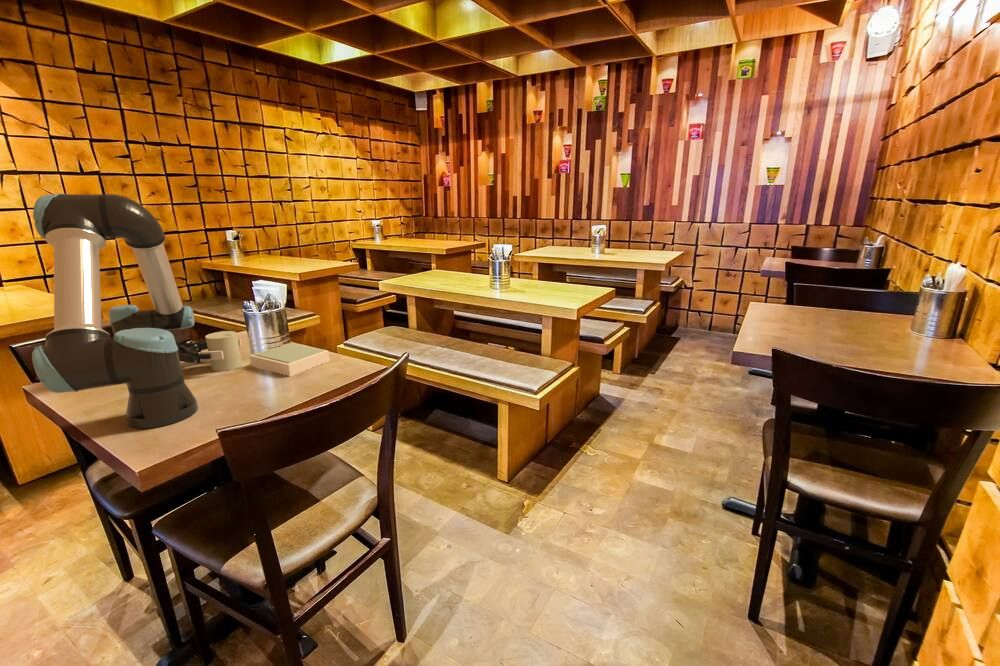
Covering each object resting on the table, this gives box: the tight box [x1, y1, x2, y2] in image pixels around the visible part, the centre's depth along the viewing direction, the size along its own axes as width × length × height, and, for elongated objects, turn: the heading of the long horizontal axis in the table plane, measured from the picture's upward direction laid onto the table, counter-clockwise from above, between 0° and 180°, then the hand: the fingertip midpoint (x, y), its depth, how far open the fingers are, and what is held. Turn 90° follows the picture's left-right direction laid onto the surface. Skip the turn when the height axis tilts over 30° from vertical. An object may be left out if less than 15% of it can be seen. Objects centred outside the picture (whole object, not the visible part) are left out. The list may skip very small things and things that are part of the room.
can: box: [204, 330, 243, 372], centre depth 152 cm, size 9×9×12 cm
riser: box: [249, 342, 331, 377], centre depth 155 cm, size 20×16×4 cm
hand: (232, 348), depth 152 cm, fingers open, 13 cm apart
